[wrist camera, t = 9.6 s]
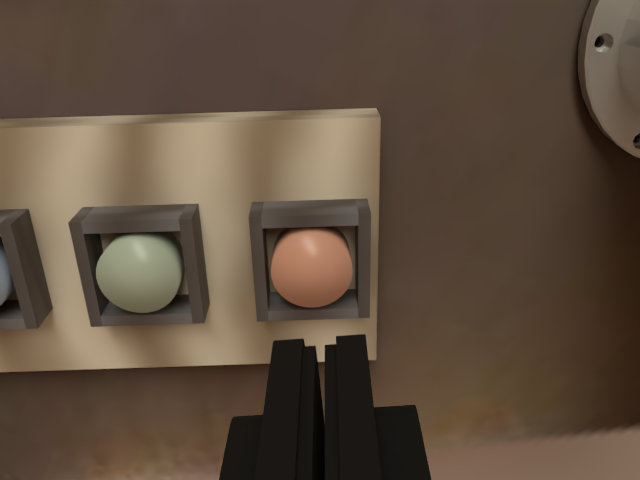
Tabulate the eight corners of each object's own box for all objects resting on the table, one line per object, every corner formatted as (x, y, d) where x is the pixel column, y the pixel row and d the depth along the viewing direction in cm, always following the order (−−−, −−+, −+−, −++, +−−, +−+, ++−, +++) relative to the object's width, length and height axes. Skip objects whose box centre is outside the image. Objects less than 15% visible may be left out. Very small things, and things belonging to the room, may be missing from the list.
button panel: (376, 108, 30) (385, 127, 27) (372, 340, 36) (380, 382, 32) (-102, 121, 30) (-158, 143, 26) (-27, 352, 36) (-65, 396, 32)
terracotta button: (349, 217, 30) (352, 233, 28) (350, 286, 32) (352, 306, 30) (270, 220, 30) (268, 236, 28) (275, 289, 32) (273, 308, 30)
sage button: (181, 222, 30) (173, 239, 28) (190, 292, 32) (183, 311, 30) (101, 225, 30) (88, 241, 28) (115, 294, 32) (103, 314, 30)
